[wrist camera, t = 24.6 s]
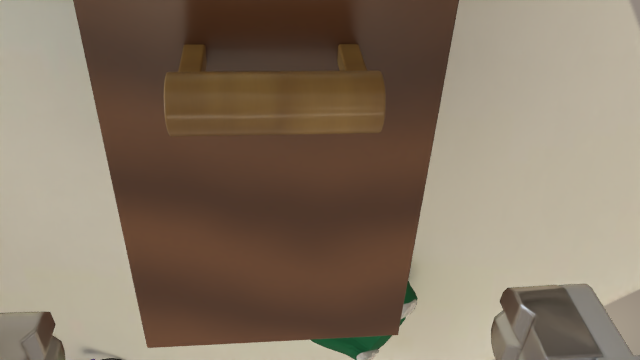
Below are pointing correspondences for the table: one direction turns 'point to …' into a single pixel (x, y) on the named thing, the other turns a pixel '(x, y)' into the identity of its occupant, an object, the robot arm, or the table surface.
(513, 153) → the table surface
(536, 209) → the table surface
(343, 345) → the green christmas stocking
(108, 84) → the chest lid
